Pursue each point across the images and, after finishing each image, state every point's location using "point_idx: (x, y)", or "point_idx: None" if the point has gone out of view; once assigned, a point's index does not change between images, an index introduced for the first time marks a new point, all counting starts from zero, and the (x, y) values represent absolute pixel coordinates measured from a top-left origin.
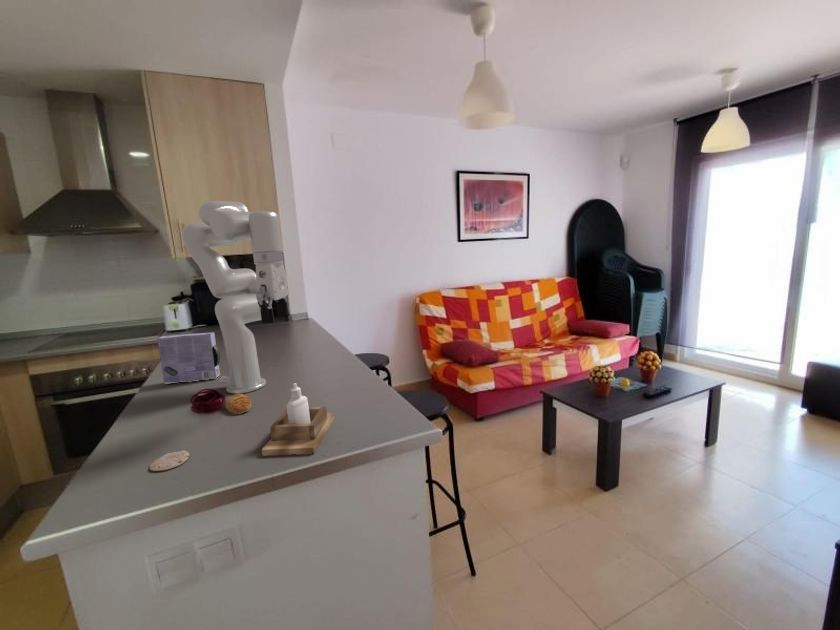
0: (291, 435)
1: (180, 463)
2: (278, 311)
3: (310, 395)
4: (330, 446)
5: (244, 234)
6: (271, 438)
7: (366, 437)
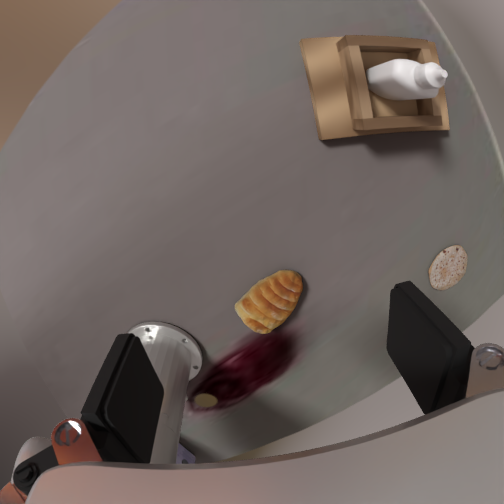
0: None
1: (458, 246)
2: (155, 402)
3: (175, 169)
4: (405, 23)
5: None
6: (419, 129)
7: None
